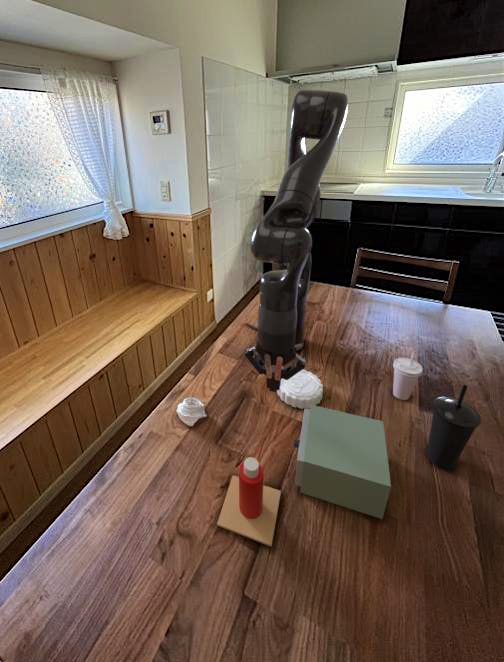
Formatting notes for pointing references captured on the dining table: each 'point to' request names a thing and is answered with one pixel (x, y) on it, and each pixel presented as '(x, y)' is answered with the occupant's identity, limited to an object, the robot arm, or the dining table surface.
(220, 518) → the cork coaster
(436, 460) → the drinking cup
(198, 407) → the whipped cream
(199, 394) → the dining table surface
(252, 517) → the ketchup bottle
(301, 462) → the drawer
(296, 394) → the mooncake
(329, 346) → the dining table surface
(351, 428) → the cabinet
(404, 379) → the smoothie
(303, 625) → the dining table surface
